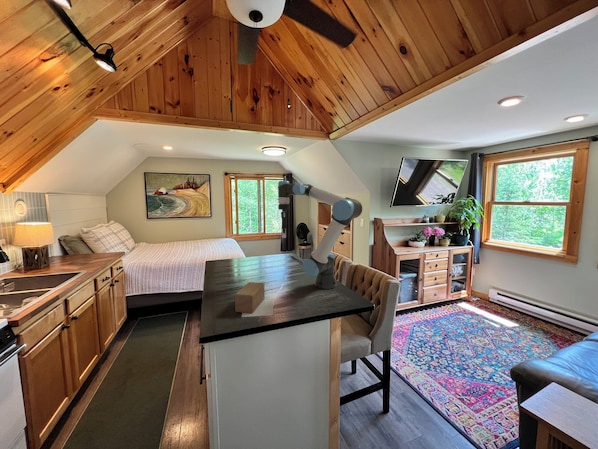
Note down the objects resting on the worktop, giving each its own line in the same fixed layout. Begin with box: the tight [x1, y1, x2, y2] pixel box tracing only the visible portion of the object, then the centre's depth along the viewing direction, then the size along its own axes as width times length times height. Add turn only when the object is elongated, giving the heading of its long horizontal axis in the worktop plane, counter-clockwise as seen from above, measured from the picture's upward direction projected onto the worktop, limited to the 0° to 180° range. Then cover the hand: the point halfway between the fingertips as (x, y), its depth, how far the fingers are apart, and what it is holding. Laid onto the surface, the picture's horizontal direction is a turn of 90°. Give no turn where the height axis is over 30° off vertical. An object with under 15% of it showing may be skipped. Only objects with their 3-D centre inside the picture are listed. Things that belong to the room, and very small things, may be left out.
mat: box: [241, 298, 274, 318], centre depth 136 cm, size 16×21×1 cm
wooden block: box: [234, 281, 266, 313], centre depth 138 cm, size 10×10×20 cm
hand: (284, 237), depth 174 cm, fingers closed
